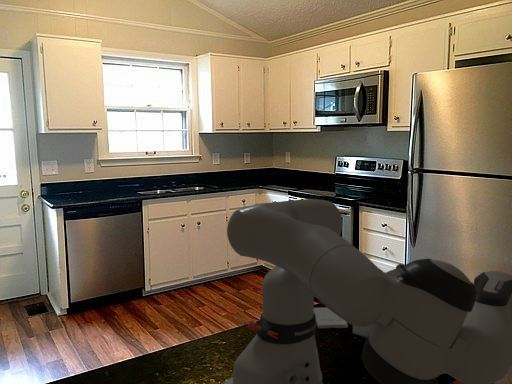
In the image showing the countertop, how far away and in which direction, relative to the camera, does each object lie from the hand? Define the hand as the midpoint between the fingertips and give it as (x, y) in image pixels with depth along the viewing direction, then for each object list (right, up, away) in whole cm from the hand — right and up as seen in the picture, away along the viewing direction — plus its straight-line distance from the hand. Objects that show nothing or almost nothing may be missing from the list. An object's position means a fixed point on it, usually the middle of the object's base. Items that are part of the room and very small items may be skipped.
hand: (418, 304), depth 118 cm
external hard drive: (-23, -7, +7) cm, 25 cm away
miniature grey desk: (-4, -6, +5) cm, 9 cm away
